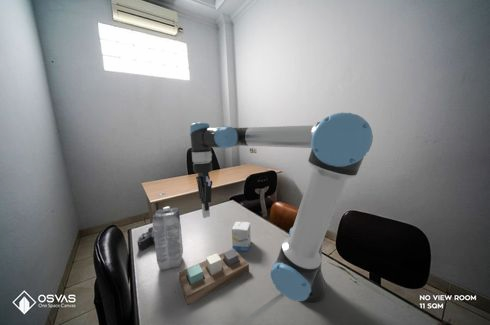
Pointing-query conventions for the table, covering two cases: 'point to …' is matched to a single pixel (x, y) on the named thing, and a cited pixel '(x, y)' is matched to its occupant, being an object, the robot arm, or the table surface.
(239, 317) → the table surface
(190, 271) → the key teal
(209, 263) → the key ivory
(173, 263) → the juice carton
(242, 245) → the ink box
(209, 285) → the keypad base
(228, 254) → the block
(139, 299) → the table surface
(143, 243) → the camera
